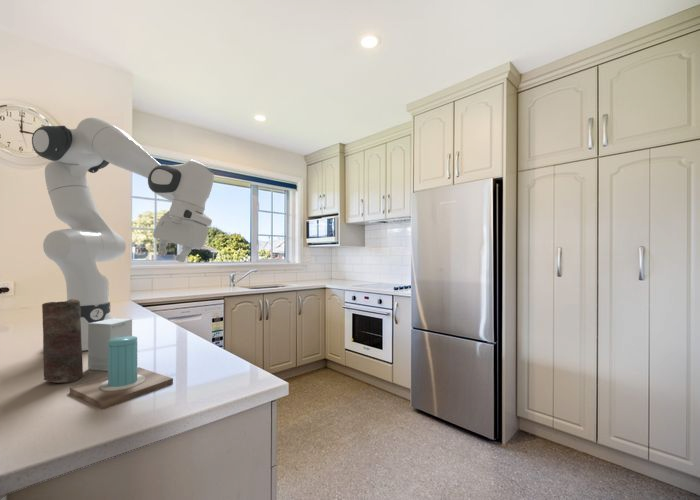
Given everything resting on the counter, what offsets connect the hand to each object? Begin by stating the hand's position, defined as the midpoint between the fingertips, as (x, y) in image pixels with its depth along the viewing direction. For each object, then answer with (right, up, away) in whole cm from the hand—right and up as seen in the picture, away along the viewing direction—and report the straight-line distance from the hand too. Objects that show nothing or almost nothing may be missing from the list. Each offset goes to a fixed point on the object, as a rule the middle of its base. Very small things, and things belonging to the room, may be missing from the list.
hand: (170, 258), depth 98 cm
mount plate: (-1, -30, -20) cm, 36 cm away
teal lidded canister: (-1, -28, -20) cm, 35 cm away
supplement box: (-14, -30, -5) cm, 33 cm away
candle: (-19, -30, -15) cm, 38 cm away
